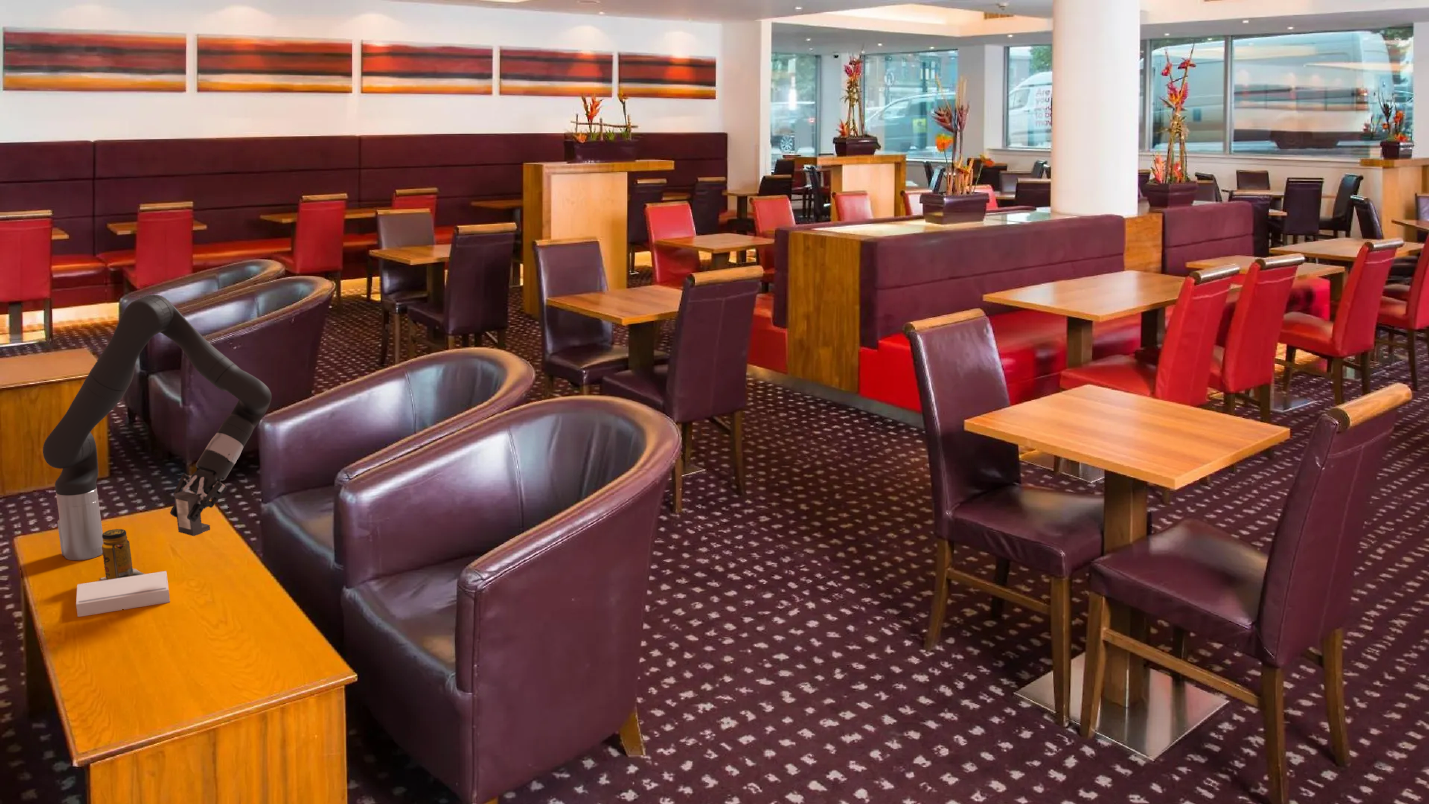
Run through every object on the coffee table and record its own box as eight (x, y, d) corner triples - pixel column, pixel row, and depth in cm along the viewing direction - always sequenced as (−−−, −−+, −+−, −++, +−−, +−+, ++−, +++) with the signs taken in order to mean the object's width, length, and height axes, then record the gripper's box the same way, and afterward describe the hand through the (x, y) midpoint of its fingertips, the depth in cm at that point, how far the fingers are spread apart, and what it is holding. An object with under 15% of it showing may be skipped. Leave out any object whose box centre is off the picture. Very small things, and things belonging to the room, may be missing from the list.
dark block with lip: (177, 532, 285) (173, 494, 283) (196, 526, 289) (191, 488, 287) (193, 536, 282) (188, 497, 280) (211, 530, 287) (207, 491, 284)
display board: (77, 616, 271) (76, 604, 271) (79, 596, 283) (77, 584, 282) (170, 602, 279) (168, 589, 279) (167, 582, 291) (166, 570, 290)
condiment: (99, 579, 293) (93, 532, 290) (134, 569, 299) (128, 523, 297) (113, 586, 289) (106, 539, 286) (148, 576, 295) (142, 529, 292)
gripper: (189, 444, 290) (150, 505, 283) (229, 452, 283) (191, 515, 276) (210, 459, 296) (173, 520, 289) (250, 468, 289) (213, 530, 282)
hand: (182, 517), depth 282 cm, fingers closed on dark block with lip, 5 cm apart
